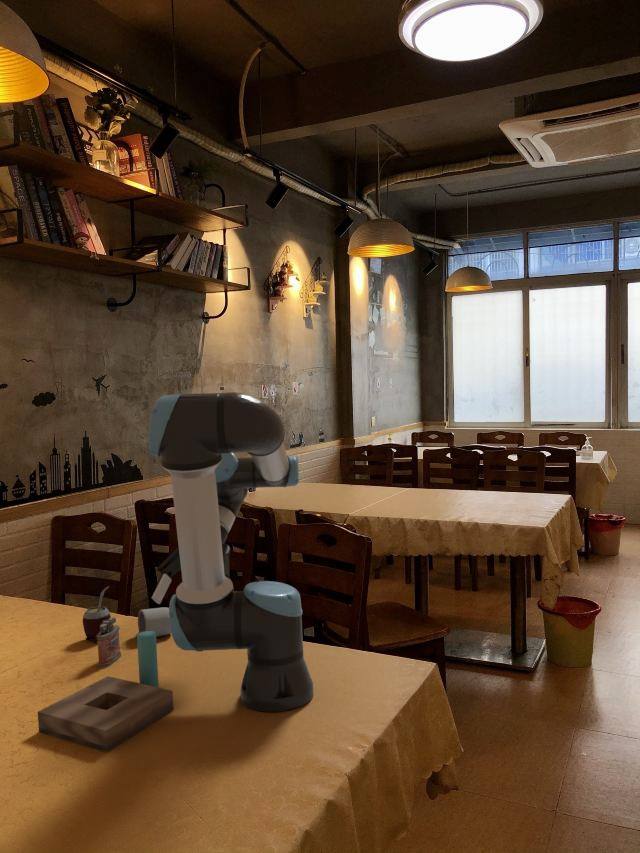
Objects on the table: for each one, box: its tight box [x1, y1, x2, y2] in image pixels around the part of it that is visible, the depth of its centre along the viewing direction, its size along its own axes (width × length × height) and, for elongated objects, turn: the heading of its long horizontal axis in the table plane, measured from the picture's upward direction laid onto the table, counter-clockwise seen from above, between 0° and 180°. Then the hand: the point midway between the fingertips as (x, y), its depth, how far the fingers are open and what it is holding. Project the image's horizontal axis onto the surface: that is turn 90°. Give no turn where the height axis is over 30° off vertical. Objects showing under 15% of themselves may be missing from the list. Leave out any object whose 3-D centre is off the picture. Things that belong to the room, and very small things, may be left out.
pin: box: [136, 631, 160, 688], centre depth 151 cm, size 4×4×12 cm
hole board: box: [37, 675, 175, 753], centre depth 137 cm, size 18×18×4 cm
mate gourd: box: [82, 585, 112, 644], centre depth 183 cm, size 8×8×15 cm
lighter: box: [97, 616, 122, 669], centre depth 168 cm, size 8×3×10 cm, turn 168°
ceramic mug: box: [137, 606, 172, 638], centre depth 186 cm, size 11×8×8 cm
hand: (178, 604), depth 160 cm, fingers open, 13 cm apart
